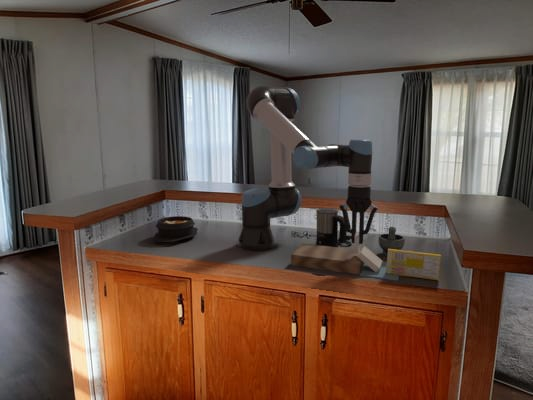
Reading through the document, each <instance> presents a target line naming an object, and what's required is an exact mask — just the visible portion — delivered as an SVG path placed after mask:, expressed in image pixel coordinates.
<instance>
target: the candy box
mask: <svg viewBox="0 0 533 400" xmlns="http://www.w3.org/2000/svg"><path fill="white" fill-rule="evenodd" d="M441 261H442V255H441V254H437V253H428V252H421V251H420V252H419V251H414V250H413V251H412V250H405V249H404V250H403V249H401V250H396V249H388V254H387V256H386V262H387V266H386V273H388V274H396V275H399V276H403V277H411V278H416V279H417V278H419V279H425V280H433V281H439V280H440V272H441Z"/></svg>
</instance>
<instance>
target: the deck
mask: <svg viewBox="0 0 533 400" xmlns="http://www.w3.org/2000/svg"><path fill="white" fill-rule="evenodd" d="M357 256H358V254H356V253H354V248H346V247H345V248H344V247H338V246H337V247H329V246H320V245H316V244H310V243H302V244H300V245H299V246H298V247H297V248H296V249H295V250H294V251H293V252H292V253H291V255H290V258H291V260H290V263H291V264H290V266H295V267H303V268H310V269H316V270H322V271H323V270H324V271H330V272H338V273H346V274H353V275H360V273H361V271H362V269H363V266H364V264H365V263H364V262H363V261H362V260H361V259H359V258H358V257H357Z"/></svg>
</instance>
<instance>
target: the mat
mask: <svg viewBox="0 0 533 400" xmlns="http://www.w3.org/2000/svg"><path fill="white" fill-rule="evenodd" d="M386 266H387V261H385V260H382V264H381V267H380V269H379V270H378V271H377V272H375V271H374V270H372V269H371V268H370V267H369V266H368V265H366V264H365V263H364V265H363V268H362V270H361V272H360V274H359V276H360V277H365V278H366V277H368V278H374V279H380V280H381V279H382V280H388V281H394V282H395V281H396V282H398V281H399V279H400V278H399V277H400V275H396V274H388V273H386Z"/></svg>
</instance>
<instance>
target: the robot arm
mask: <svg viewBox="0 0 533 400" xmlns="http://www.w3.org/2000/svg"><path fill="white" fill-rule="evenodd" d="M300 102H301V101H300V97H299V94H298V93H297V92H296V91H295V90H294V89H292V88H290V87H285V86H270V85H269V86H268V85H259V86H256V87H254V88H253V89H251V91H250V92H249V94H248V95H247V98H246V108H247V111H248V112H249V114H250V116H251V117H252V118H253V119H254V120H255V121H256V122H261V123H262V124H263V125H264V126H265V127H266V128H267V129H268V130H269V131H270V134H269V135H270V165H271V182H270V183H269V184H268V185H267V187H259V188H258V187H256V188H251V189H248V190H246V191H244V192H243V193H242V194H241V202H240V203H241V224H242V225H241V231H240V235H239V236H238V240H237V241H238V242H237V243H238V248H240V249H242V250H247V251H264V250H269V249H272V248H274V247H275V245H276V243H275V237H274V233H273V231H272V228H271V219H276V218H281V217H288V216H291V215H294V214H296V213H298V211H299V210H300V208H301V205H302V197H301V195H302V194H301V193H300V191H299V190H298V188H296V184H295V183H294V182H293V181H292V180H293V177H292V159H293V163H294V165H295V167H296V168H298V169H301V170H312V169H319V168H327V167H328V168H332V167H346V168H348V172H347V173H348V175H347V176H348V177H347V178H348V179H347V184H348V186H347V198H346V200H345V202H344V203H341V204H339V206H338V207H339V209H340V211H341V212H342V213H341V214H342V217H343V218H344V222H345V227H346V231H347V233H349V234H351V236H352V239H351V240H350V241H351V244H354V245H353V247H354V248H353V249H354V253H356V254H359V252H360V250H361V245H363V243H364V235H368V233H369V232H370V229H371V226H372V224H373V223H372V222H373V219H374V216H375V213H376V212H377V210H378V208H379V207H378V206H377V205H376V206H375V205H374V204H373V202H372V200H371V193H372V192H371V191H372V190H371V189H372V188H371V187H372V186H371V184H372V162H373V142H372V140H370V139H351V140H349V143H348V144H336V143H335V144H334V143H333V144H332V143H331V144H327V145H326V144H324V145H317V144H315V143H314V142H313V141H312V140H311V139H310V138H308V136H307V135H306V134H304V132H302V131H301V130H300V129H299V128H298V127H297V126H296V125H295V124H294V123H293V121H295V116H296V115H297V114H298V113H299V110H300V106H301V103H300ZM292 155H293V156H292ZM369 208H370V209H369ZM348 209H349V210H350V211H351V223H350V218H349V213H348V212H349V211H348ZM368 209H369V211H370V213H369V216H368V219H367V223H366V226H365V213H366V212H367V210H368ZM358 214H359V223H358V222H357V217H358ZM357 223H358V224H359V227H358V228H359V229H358V232H357Z"/></svg>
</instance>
